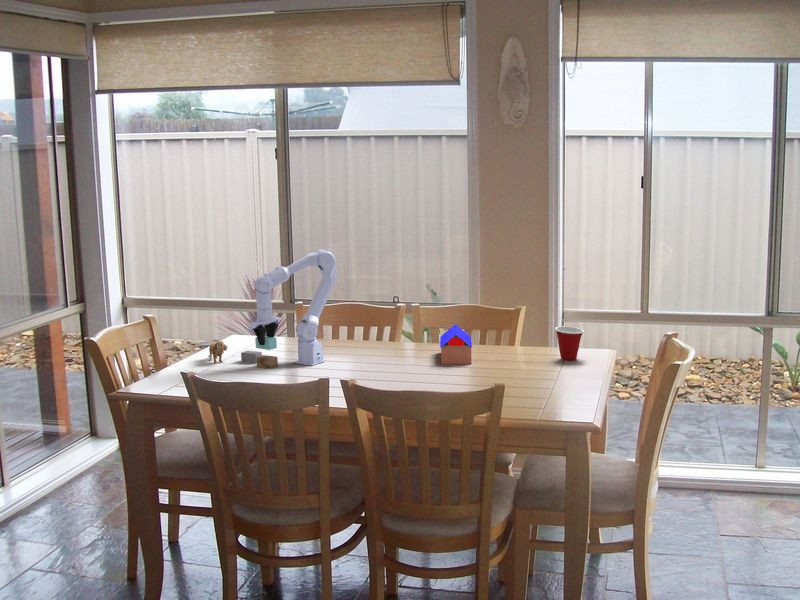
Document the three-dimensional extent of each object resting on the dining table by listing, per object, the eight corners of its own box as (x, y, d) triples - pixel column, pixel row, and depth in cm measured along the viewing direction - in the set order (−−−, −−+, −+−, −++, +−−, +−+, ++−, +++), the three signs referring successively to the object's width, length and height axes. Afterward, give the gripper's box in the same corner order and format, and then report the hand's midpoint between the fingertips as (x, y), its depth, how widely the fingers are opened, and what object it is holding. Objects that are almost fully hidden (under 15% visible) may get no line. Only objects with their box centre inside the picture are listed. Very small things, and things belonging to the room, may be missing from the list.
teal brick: (276, 348, 338) (276, 337, 338) (269, 350, 335) (268, 339, 334) (263, 346, 342) (262, 335, 341) (255, 348, 339) (255, 337, 338)
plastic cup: (581, 363, 333) (582, 331, 331) (552, 361, 336) (552, 330, 334) (585, 356, 343) (585, 326, 341) (557, 355, 346) (557, 325, 344)
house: (440, 365, 337) (440, 334, 335) (440, 353, 356) (440, 324, 354) (472, 364, 336) (472, 334, 334) (470, 352, 356) (470, 323, 354)
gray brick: (262, 361, 349) (261, 351, 348) (256, 364, 345) (255, 354, 344) (247, 360, 352) (247, 350, 351) (241, 362, 348) (240, 352, 348)
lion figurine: (230, 363, 346) (228, 341, 345) (217, 365, 343) (216, 342, 342) (214, 357, 358) (213, 335, 357) (202, 359, 355) (200, 336, 354)
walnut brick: (277, 366, 340) (277, 356, 339) (271, 369, 336) (270, 358, 336) (263, 365, 343) (262, 355, 343) (256, 367, 340) (256, 357, 339)
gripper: (269, 304, 344) (271, 339, 346) (242, 310, 332) (244, 346, 335) (283, 306, 340) (285, 341, 342) (256, 312, 328) (258, 348, 331)
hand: (266, 343), depth 338 cm, fingers closed on teal brick, 4 cm apart
